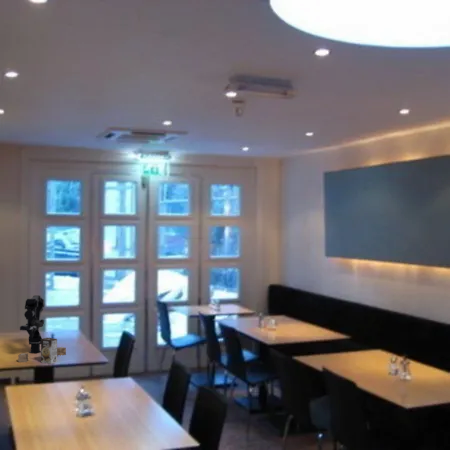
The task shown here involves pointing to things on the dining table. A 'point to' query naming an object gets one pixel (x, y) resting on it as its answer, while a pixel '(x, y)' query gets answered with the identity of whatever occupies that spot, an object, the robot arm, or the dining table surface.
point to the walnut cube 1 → (22, 357)
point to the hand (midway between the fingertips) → (31, 338)
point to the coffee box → (48, 350)
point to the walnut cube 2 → (61, 351)
